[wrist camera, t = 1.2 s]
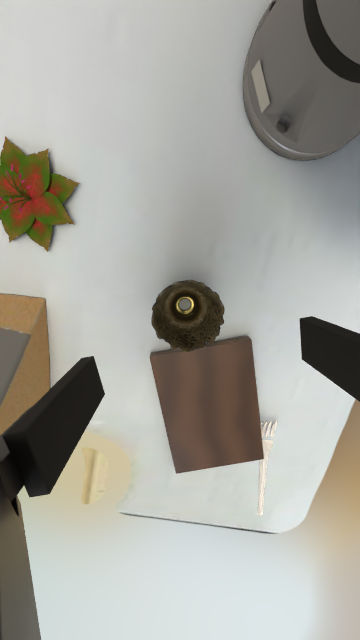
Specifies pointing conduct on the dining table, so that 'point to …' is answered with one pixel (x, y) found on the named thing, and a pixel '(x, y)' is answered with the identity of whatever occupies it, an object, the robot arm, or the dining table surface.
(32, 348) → the sandwich container
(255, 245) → the dining table surface
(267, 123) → the robot arm
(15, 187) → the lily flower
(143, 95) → the dining table surface
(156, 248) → the dining table surface
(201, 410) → the walnut board
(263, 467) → the fork
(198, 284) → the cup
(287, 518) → the dining table surface
